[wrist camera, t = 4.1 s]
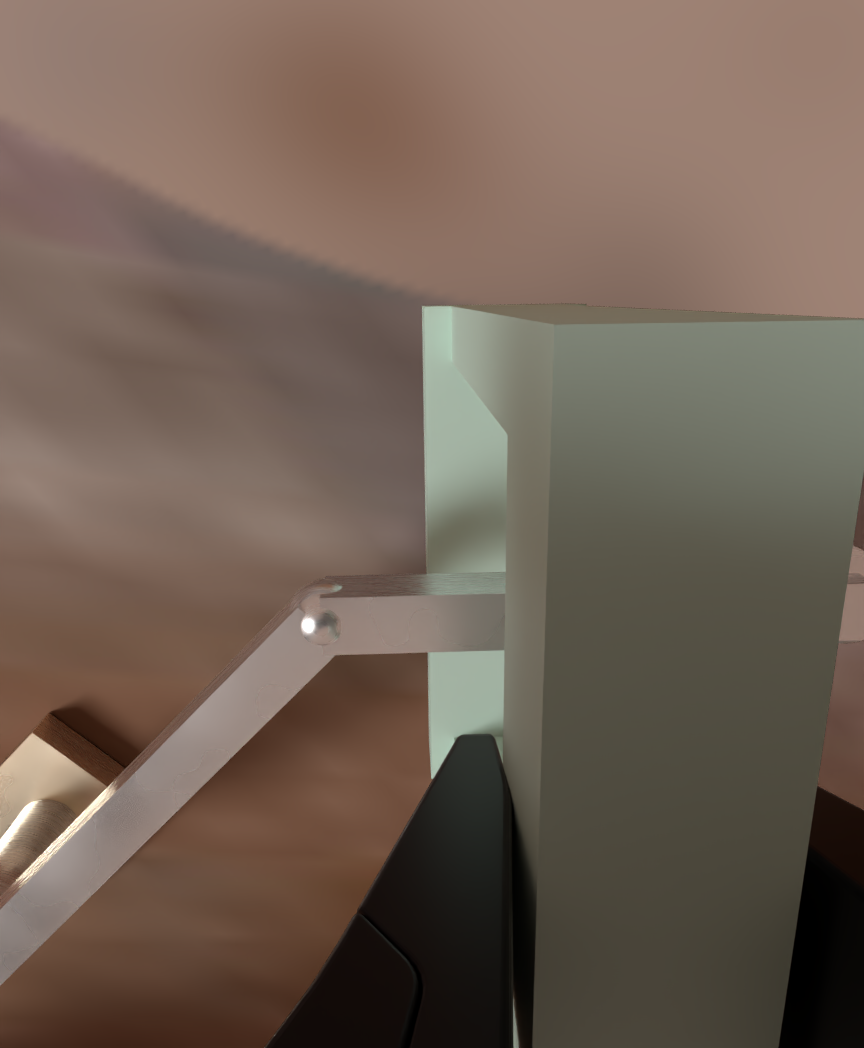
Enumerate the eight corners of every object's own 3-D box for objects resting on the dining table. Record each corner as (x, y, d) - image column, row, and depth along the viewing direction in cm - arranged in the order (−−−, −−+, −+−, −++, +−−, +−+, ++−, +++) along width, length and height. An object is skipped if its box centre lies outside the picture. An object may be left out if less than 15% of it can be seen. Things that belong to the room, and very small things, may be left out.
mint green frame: (554, 736, 18) (777, 1386, 7) (429, 740, 18) (469, 1404, 7) (569, 303, 16) (967, 317, 5) (422, 305, 16) (471, 326, 5)
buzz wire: (835, 548, 20) (1107, 606, 11) (45, 908, 23) (-248, 1191, 14) (747, 362, 20) (950, 271, 11) (-39, 744, 23) (-388, 921, 14)
